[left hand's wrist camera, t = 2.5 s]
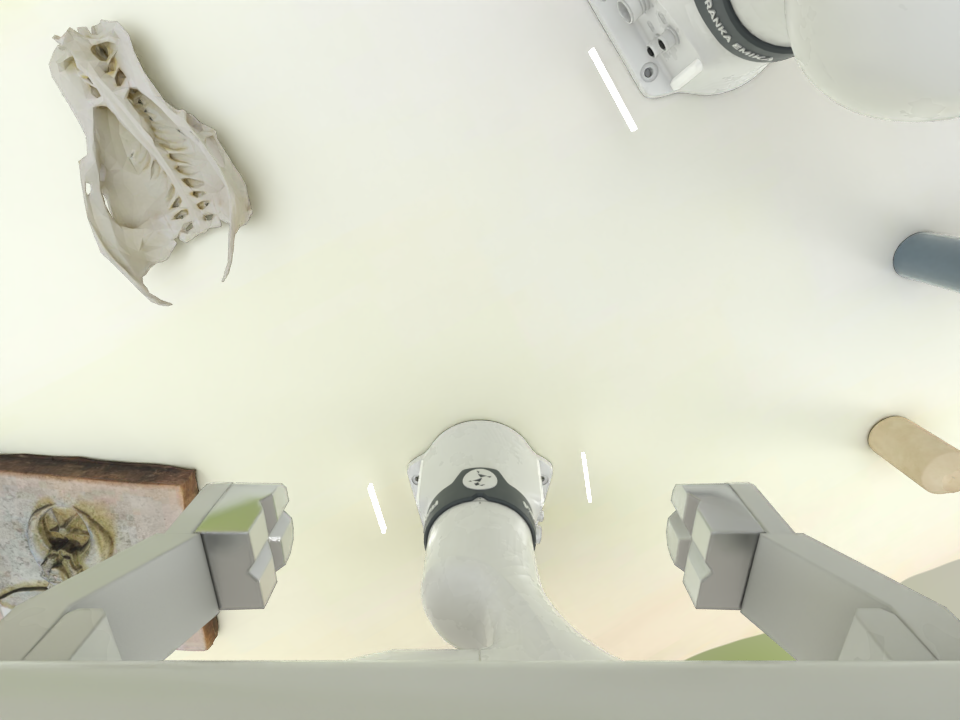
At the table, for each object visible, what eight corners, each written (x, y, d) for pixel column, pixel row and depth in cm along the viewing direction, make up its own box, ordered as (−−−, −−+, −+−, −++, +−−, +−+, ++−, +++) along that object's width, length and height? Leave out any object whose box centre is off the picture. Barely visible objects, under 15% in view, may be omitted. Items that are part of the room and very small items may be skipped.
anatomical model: (132, 322, 50) (-60, 51, 41) (180, 296, 59) (31, 67, 50) (264, 265, 48) (94, -32, 39) (295, 247, 57) (161, -1, 48)
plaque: (167, 499, 60) (194, 678, 71) (199, 465, 66) (219, 634, 77) (-97, 476, 59) (-29, 661, 70) (-39, 445, 66) (16, 618, 77)
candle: (869, 419, 64) (935, 464, 55) (914, 412, 63) (989, 455, 54) (865, 456, 66) (929, 505, 57) (910, 449, 65) (981, 497, 56)
